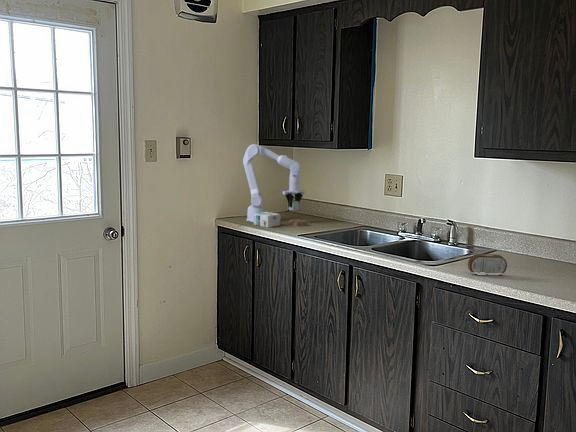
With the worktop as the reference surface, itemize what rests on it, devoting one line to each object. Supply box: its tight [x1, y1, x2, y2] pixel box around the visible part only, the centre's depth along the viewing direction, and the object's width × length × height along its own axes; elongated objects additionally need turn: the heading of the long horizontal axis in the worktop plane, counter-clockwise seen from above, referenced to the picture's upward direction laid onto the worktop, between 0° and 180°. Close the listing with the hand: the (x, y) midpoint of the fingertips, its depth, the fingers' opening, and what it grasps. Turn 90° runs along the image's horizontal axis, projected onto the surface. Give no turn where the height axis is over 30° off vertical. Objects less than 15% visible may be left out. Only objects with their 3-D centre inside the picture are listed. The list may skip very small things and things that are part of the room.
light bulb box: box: [253, 211, 281, 229], centre depth 334 cm, size 11×7×11 cm
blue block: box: [288, 200, 300, 211], centre depth 344 cm, size 4×4×5 cm
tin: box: [467, 253, 508, 274], centre depth 237 cm, size 15×3×8 cm, turn 93°
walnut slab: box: [288, 218, 308, 227], centre depth 339 cm, size 7×7×3 cm
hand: (293, 206), depth 344 cm, fingers closed on blue block, 4 cm apart
